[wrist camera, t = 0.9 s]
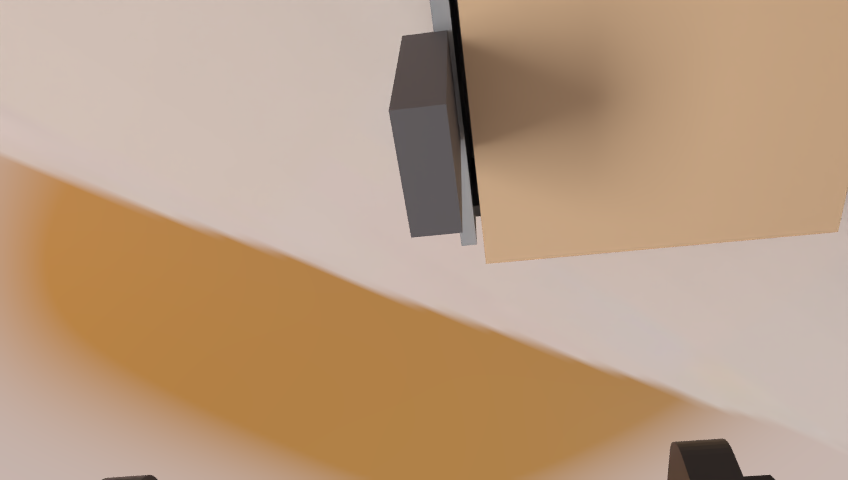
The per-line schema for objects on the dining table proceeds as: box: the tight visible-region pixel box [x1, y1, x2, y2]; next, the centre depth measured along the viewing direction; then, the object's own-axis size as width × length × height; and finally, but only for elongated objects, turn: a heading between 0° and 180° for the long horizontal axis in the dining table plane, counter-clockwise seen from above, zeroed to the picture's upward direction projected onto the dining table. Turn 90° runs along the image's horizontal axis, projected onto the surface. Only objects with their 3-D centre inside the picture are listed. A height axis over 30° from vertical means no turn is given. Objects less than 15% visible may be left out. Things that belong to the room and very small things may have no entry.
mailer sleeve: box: [458, 0, 848, 264], centre depth 26 cm, size 13×14×7 cm
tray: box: [389, 0, 481, 246], centre depth 23 cm, size 14×13×11 cm
